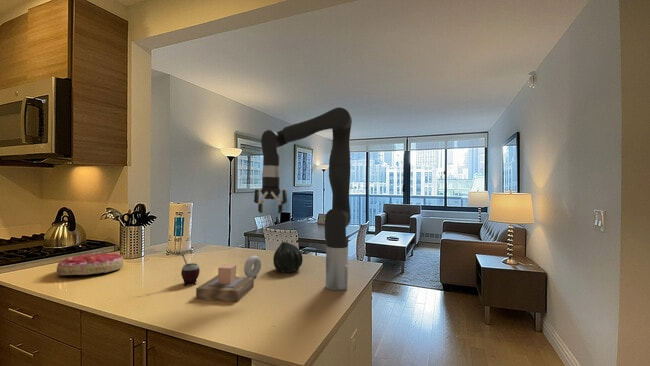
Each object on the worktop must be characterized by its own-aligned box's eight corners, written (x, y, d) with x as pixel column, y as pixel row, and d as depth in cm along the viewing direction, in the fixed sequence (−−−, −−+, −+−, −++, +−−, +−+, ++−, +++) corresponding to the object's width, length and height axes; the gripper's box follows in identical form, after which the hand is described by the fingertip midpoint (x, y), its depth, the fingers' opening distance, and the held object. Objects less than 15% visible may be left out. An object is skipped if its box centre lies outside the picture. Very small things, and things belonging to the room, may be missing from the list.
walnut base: (253, 287, 122) (253, 276, 122) (237, 302, 106) (237, 290, 106) (217, 284, 124) (217, 274, 124) (196, 299, 108) (196, 287, 108)
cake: (80, 280, 124) (81, 260, 125) (41, 276, 132) (43, 258, 132) (134, 268, 147) (135, 252, 148) (99, 265, 155) (100, 250, 156)
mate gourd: (202, 282, 127) (203, 247, 127) (187, 288, 120) (188, 251, 120) (190, 280, 130) (191, 245, 130) (174, 285, 123) (175, 249, 123)
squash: (312, 259, 148) (297, 235, 153) (294, 267, 136) (277, 240, 141) (296, 274, 154) (281, 250, 159) (277, 283, 142) (261, 256, 147)
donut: (247, 281, 130) (248, 258, 130) (241, 279, 131) (242, 257, 131) (262, 275, 139) (263, 253, 139) (256, 274, 140) (257, 253, 140)
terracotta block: (235, 280, 118) (236, 264, 118) (230, 284, 113) (230, 268, 113) (224, 279, 118) (224, 264, 118) (218, 283, 113) (218, 267, 113)
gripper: (288, 176, 133) (288, 212, 133) (258, 176, 135) (257, 211, 135) (284, 176, 126) (283, 214, 125) (252, 175, 127) (251, 213, 127)
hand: (270, 213), depth 130 cm, fingers open, 8 cm apart
